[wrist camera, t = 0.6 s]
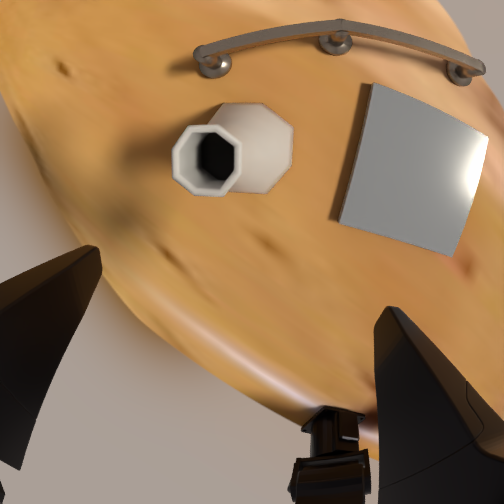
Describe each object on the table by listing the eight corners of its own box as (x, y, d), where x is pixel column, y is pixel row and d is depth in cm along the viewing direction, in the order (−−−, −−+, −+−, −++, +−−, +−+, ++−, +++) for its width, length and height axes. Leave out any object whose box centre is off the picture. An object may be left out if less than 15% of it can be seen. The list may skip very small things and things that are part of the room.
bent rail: (470, 88, 15) (495, 85, 11) (202, 81, 18) (183, 72, 15) (464, 50, 13) (487, 41, 10) (199, 40, 17) (180, 26, 14)
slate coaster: (448, 253, 21) (452, 257, 20) (337, 220, 21) (339, 223, 21) (483, 136, 16) (488, 137, 15) (371, 84, 17) (374, 82, 16)
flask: (188, 175, 22) (117, 210, 13) (217, 89, 19) (157, 61, 10) (274, 208, 22) (256, 267, 13) (309, 121, 19) (322, 109, 10)
